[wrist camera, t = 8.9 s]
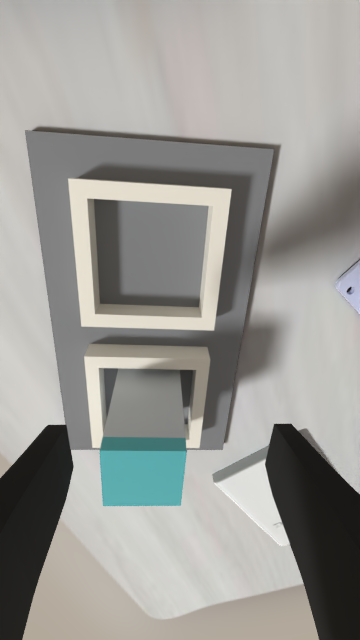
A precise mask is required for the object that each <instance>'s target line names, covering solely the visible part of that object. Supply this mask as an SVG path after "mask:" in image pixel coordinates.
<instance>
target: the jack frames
mask: <svg viewBox="0 0 360 640" xmlns="http://www.w3.org/2000/svg"><path fill="white" fill-rule="evenodd" d="M68 184H69V195H70V206H71V217H72V228H73V239H74V250H75V261H76V272H77V284H78V295H79V306H80V317H81V327H113V328H146V329H179V330H211V331H214V327H215V319H216V311H217V303H218V295H219V287H220V279H221V271H222V263H223V255H224V247H225V239H226V231H227V223H228V215H229V207H230V199H231V191H232V189H228V188H219V187H204V186H189V185H174V184H159V183H143V182H128V181H113V180H98V179H82V178H68ZM94 199H106V200H122V201H138V202H155V203H171V204H187V205H204V206H209V208H208V218H207V229H206V239H205V250H204V260H203V270H202V281H201V291H200V301H199V307H176V306H148V305H120V304H100V296H99V279H98V262H97V244H96V227H95V210H94ZM84 361H85V372H86V383H87V394H88V405H89V416H90V427H91V438H92V448H100V447H101V442H102V438H103V434H104V429H105V425H106V420H107V416H106V399H105V381H104V368H127V369H175V370H193V374H192V384H191V395H190V405H189V416H188V424H184V425H185V437H186V448H200V439H201V431H202V423H203V415H204V407H205V399H206V391H207V383H208V375H209V367H210V356H209V352H208V348H207V347H195V346H158V345H120V344H89V346H88V349H87V351H86V353H85V356H84Z"/></svg>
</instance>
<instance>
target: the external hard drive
mask: <svg viewBox="0 0 360 640" xmlns="http://www.w3.org/2000/svg"><path fill="white" fill-rule="evenodd" d="M268 449H269V446H267V447H265V448H263V449H261V450H259V451H257V452H255V453H253V454H251V455H249V456H247V457H245V458H243V459H241V460H239V461H237V462H235V463H233V464H232V465H230V466H228V467H226V468H224V469H222V470H220V471H218V472H216V473H214V474H212V476H213V482H214V484H215V485H217V486H218V487H219V488H220V489H221V490H222V491H223V492H224V493H225V494H226V495H227V496H228V497H229V498H230V499H231V500H232V501H233V502H234V503H235V504H236V505H238V506H239V507H240V508H241V509H242V510H243V511H244V512H245V513H246V514H247V515H248V516H249V517H250V518H251V519H252V520H253V521H254V522H255V523H256V524H257V525H259V526H260V527H261V528H262V529H263V530H264V531H265V532H266V533H267V534H268V535H269V536H270V537H271V538H272V539H273V540H274V541H275V542H276V543H277V544H278V545H280V546H286V545H288V544H290V543H289V540H288V537H287V535H286V532H285V529H284V526H283V524H282V521H281V518H280V515H279V512H278V510H277V507H276V504H275V501H274V498H273V496H272V492H271V488H270V484H269V480H268V476H267V471H266V467H265V461H266V457H267V453H268Z"/></svg>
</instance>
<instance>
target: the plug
mask: <svg viewBox="0 0 360 640" xmlns="http://www.w3.org/2000/svg"><path fill="white" fill-rule="evenodd" d="M186 453H187V449H186V437H185V425H184V414H183V402H182V391H181V379H180V370H175V369H127V368H118V372H117V377H116V381H115V386H114V390H113V394H112V399H111V403H110V407H109V412H108V416H107V420H106V425H105V429H104V434H103V438H102V442H101V447H100V465H101V481H102V497H103V506H181V498H182V489H183V480H184V471H185V462H186Z"/></svg>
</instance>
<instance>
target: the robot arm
mask: <svg viewBox="0 0 360 640" xmlns="http://www.w3.org/2000/svg"><path fill="white" fill-rule="evenodd" d="M335 287H336V289H337V290H338V291H339V293H340V294H341V295H342V296H343V297H344V298H345V299H346V300H347V301H348V302H349V303H350V305H351V306H352V307H353V308H354V309H355V310H356V311H357V312H358V313H359V314H360V260H359V261H358V262H357V263H356V264H355V265H354V266H353V267H351V268H350V269H349V270H348V271H347V272H346V273H345V274H343V275H342V276H341V277H340V278H339V279H338V280H337V281H336V284H335ZM349 287H352V288H351V290H350V291H349V292H347V289H348V288H349ZM265 467H266V471H267V476H268V480H269V484H270V488H271V492H272V496H273V498H274V501H275V504H276V507H277V510H278V512H279V515H280V518H281V521H282V524H283V526H284V529H285V532H286V535H287V537H288V540H289V543H290V545H291V548H292V551H293V554H294V556H295V559H296V562H297V565H298V567H299V570H300V573H301V576H302V579H303V583H304V586H305V589H306V593H307V596H308V599H309V603H310V606H311V610H312V614H313V618H314V621H315V625H316V629H317V632H318V636H319V640H360V494H359V493H358V492H356V491H355V490H354V489H353V488H352V487H351V486H350V485H349V484H348V483H347V482H346V481H345V480H344V479H343V478H342V477H341V476H340V475H339V474H338V473H337V472H336V471H335V470H334V469H333V468H332V467H331V466H330V465H329V464H328V463H327V462H326V461H325V459H324V458H323V457H322V456H321V455H320V454H319V453H318V452H317V451H316V450H315V449H314V448H313V447H312V446H311V445H310V443H309V442H308V441H307V440H306V439H305V438H304V437H303V436H302V435H301V434H300V433H299V432H298V431H297V430H296V428H295V427H294V426H293V425H292V424H274V427H273V432H272V436H271V440H270V444H269V449H268V453H267V457H266V461H265ZM72 471H73V461H72V455H71V449H70V443H69V437H68V431H67V425H48V426H46V427H45V428H44V430H43V431H42V432H41V433H40V434H39V435H38V437H37V438H36V439H35V440H34V441H33V442H32V444H31V445H30V446H29V447H28V448H27V449H26V450H25V452H24V453H23V454H22V455H21V456H20V457H19V458H18V459H17V461H16V462H15V463H14V464H13V465H12V466H11V467H10V468H9V469H8V471H7V472H6V473H5V474H4V475H3V476H2V477H1V478H0V640H22V638H23V634H24V630H25V626H26V622H27V619H28V614H29V611H30V607H31V603H32V599H33V595H34V593H35V589H36V586H37V583H38V579H39V576H40V573H41V571H42V568H43V565H44V562H45V559H46V556H47V553H48V550H49V547H50V545H51V541H52V539H53V536H54V533H55V530H56V527H57V524H58V521H59V518H60V515H61V512H62V509H63V507H64V503H65V500H66V497H67V493H68V489H69V484H70V480H71V475H72Z"/></svg>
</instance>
